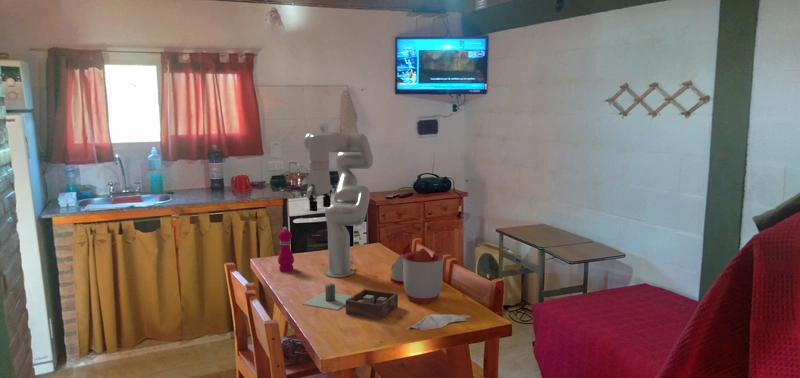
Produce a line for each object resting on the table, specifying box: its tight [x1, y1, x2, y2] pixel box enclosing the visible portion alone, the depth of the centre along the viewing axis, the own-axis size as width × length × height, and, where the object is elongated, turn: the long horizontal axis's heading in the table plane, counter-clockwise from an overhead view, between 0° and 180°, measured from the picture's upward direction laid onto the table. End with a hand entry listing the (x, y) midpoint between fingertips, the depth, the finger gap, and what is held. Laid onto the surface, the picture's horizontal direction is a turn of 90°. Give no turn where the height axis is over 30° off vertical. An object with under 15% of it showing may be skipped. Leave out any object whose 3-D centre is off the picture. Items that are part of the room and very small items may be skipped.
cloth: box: [406, 313, 472, 331], centre depth 192 cm, size 26×14×2 cm, turn 106°
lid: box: [302, 282, 353, 311], centre depth 213 cm, size 15×15×7 cm
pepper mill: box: [277, 226, 295, 273], centre depth 252 cm, size 7×7×20 cm
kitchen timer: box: [390, 245, 412, 286], centre depth 238 cm, size 14×14×15 cm
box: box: [345, 288, 399, 321], centre depth 203 cm, size 14×14×5 cm
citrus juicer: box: [403, 247, 444, 304], centre depth 215 cm, size 16×17×20 cm
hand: (320, 209), depth 221 cm, fingers open, 9 cm apart
